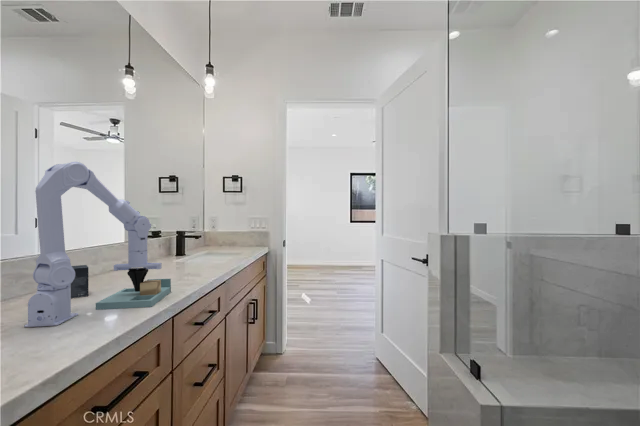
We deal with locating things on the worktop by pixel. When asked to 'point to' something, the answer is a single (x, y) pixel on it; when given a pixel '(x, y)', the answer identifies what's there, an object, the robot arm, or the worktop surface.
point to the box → (80, 281)
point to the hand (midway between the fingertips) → (138, 290)
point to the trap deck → (134, 298)
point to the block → (150, 287)
